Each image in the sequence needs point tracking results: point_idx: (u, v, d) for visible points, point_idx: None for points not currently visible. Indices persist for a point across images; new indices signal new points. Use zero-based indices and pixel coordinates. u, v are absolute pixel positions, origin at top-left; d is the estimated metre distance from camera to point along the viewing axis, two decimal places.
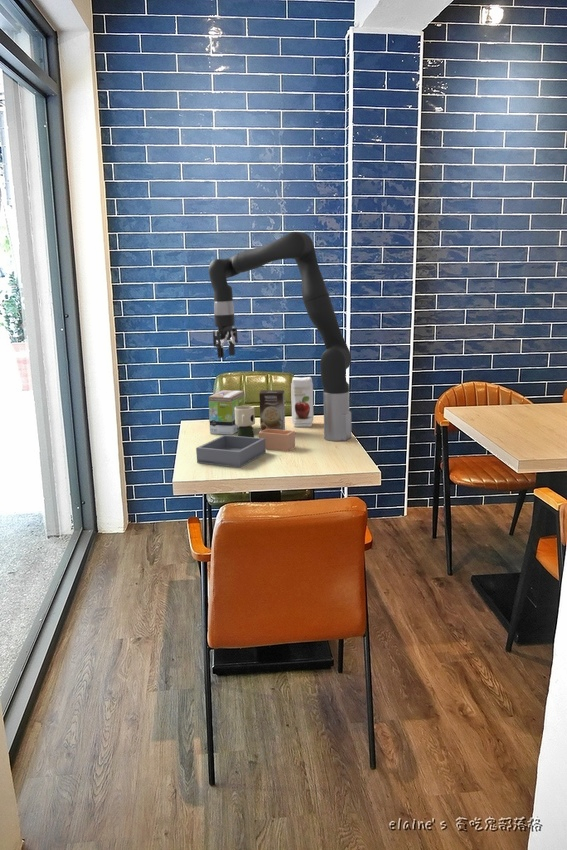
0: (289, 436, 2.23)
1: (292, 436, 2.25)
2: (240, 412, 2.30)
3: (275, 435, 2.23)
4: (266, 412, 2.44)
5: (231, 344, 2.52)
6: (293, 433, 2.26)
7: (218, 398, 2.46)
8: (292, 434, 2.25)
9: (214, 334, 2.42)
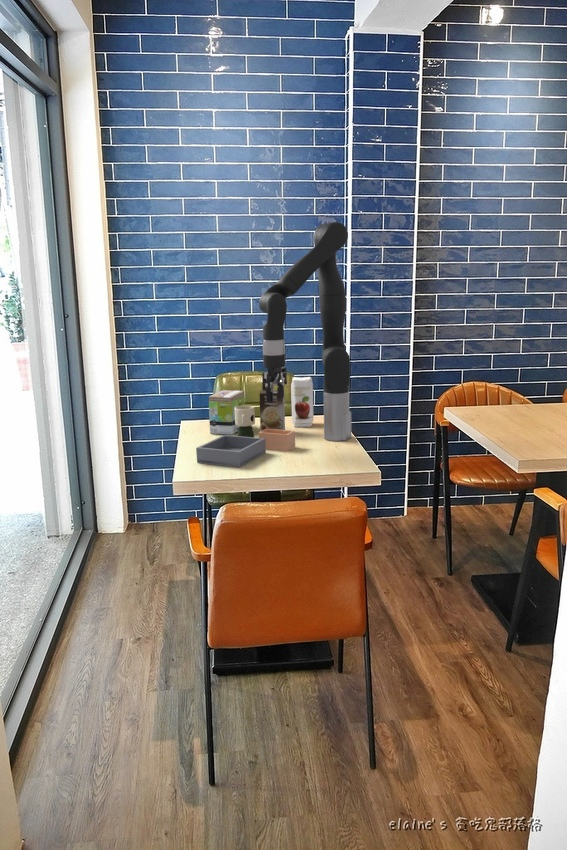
0: (289, 436, 2.23)
1: (292, 436, 2.25)
2: (240, 412, 2.30)
3: (275, 435, 2.23)
4: (266, 412, 2.44)
5: (280, 386, 2.26)
6: (293, 433, 2.26)
7: (218, 398, 2.46)
8: (292, 434, 2.25)
9: (263, 377, 2.16)
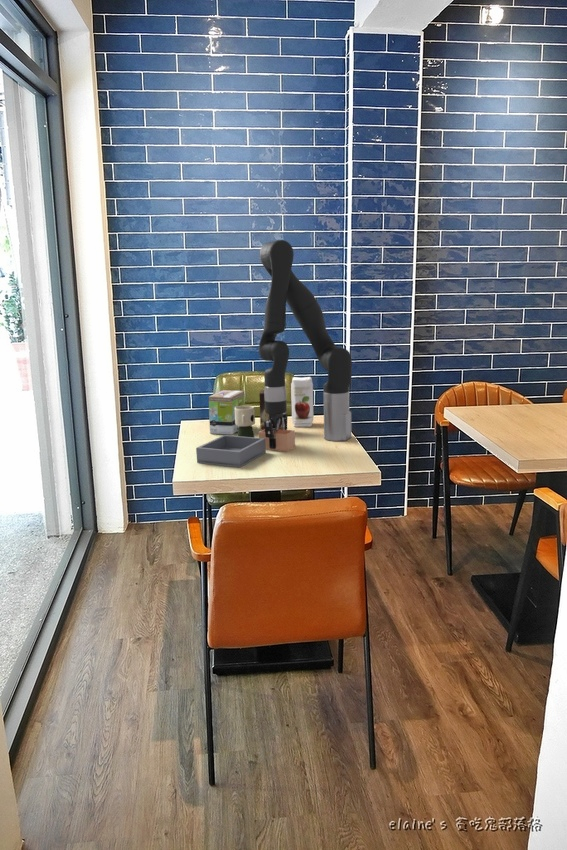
0: (288, 435, 2.22)
1: (292, 436, 2.25)
2: (240, 412, 2.30)
3: None
4: None
5: None
6: (293, 433, 2.26)
7: (218, 398, 2.46)
8: (292, 434, 2.25)
9: (265, 425, 2.20)
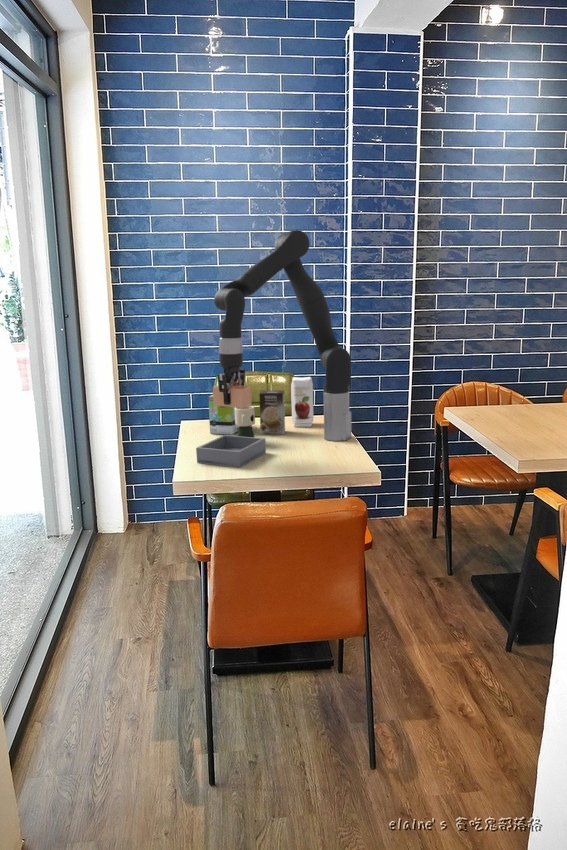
0: (244, 391, 2.09)
1: (248, 391, 2.12)
2: (240, 412, 2.30)
3: None
4: (266, 412, 2.44)
5: None
6: (249, 388, 2.13)
7: None
8: (247, 389, 2.12)
9: (219, 378, 2.07)
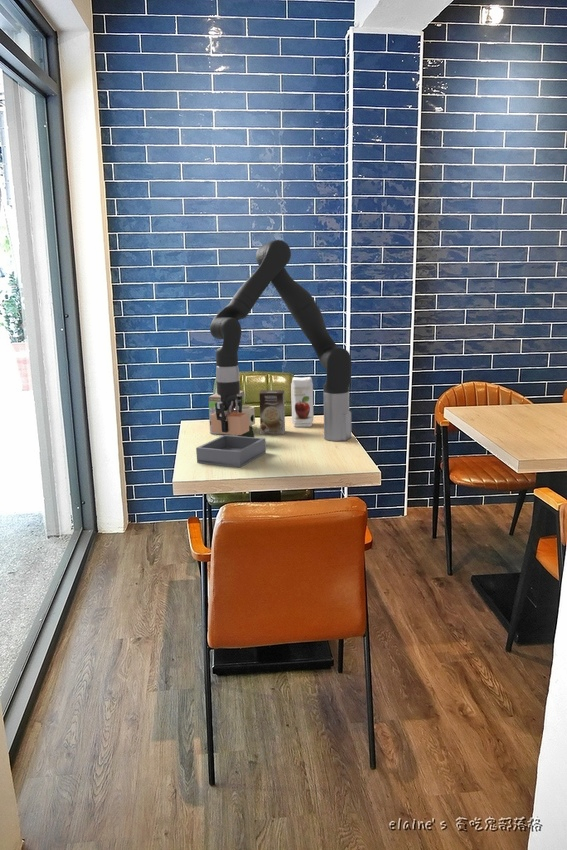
0: (241, 418, 2.10)
1: (245, 419, 2.13)
2: None
3: None
4: (266, 412, 2.44)
5: None
6: (247, 415, 2.14)
7: (218, 398, 2.46)
8: (245, 416, 2.13)
9: (216, 407, 2.08)
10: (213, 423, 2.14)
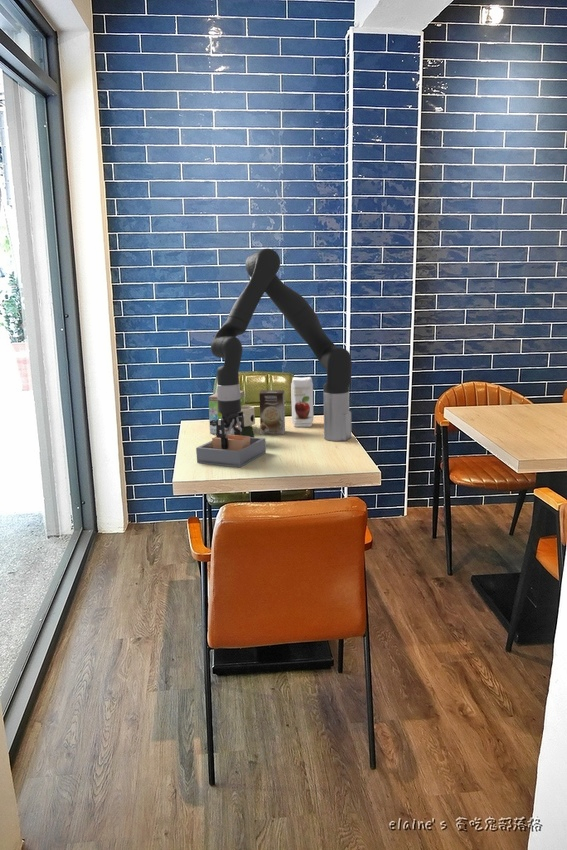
0: (243, 442, 2.12)
1: (247, 442, 2.15)
2: None
3: (229, 441, 2.13)
4: (266, 412, 2.44)
5: (237, 430, 2.19)
6: (248, 439, 2.15)
7: None
8: (246, 440, 2.14)
9: (217, 423, 2.09)
10: (215, 446, 2.16)
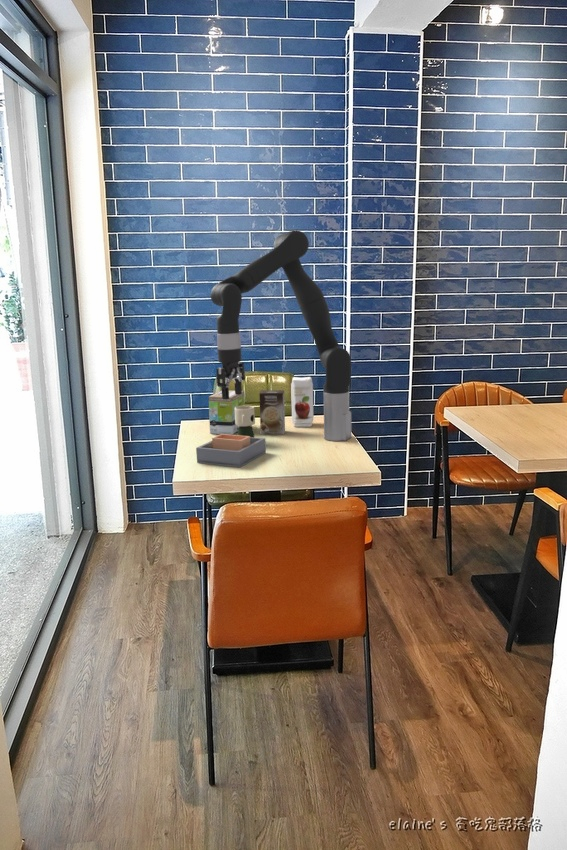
0: (243, 442, 2.12)
1: (247, 442, 2.15)
2: (240, 412, 2.30)
3: (229, 441, 2.13)
4: (266, 412, 2.44)
5: (237, 382, 2.16)
6: (248, 439, 2.15)
7: (218, 398, 2.46)
8: (246, 440, 2.14)
9: (218, 372, 2.05)
10: (215, 446, 2.16)
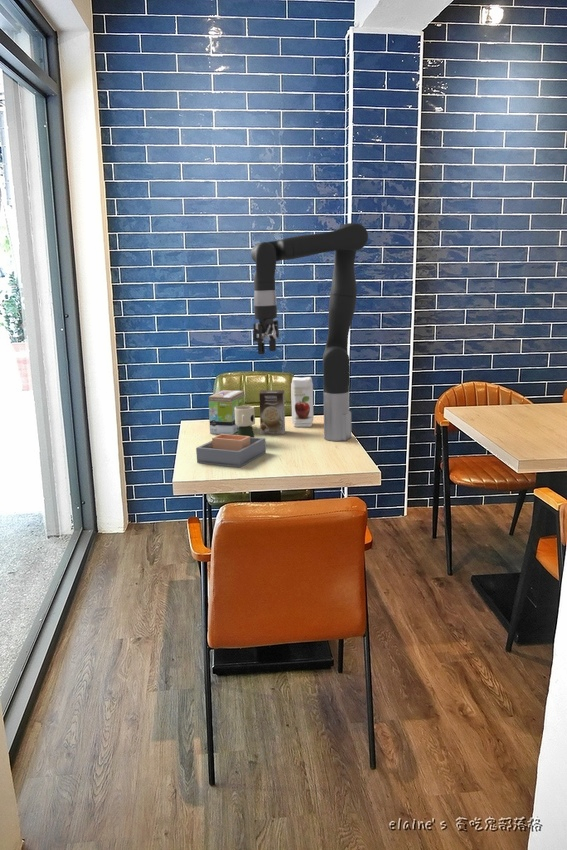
0: (243, 442, 2.12)
1: (247, 442, 2.15)
2: (240, 412, 2.30)
3: (229, 441, 2.13)
4: (266, 412, 2.44)
5: (272, 339, 2.25)
6: (248, 439, 2.15)
7: (218, 398, 2.46)
8: (246, 440, 2.14)
9: (255, 327, 2.14)
10: (215, 446, 2.16)
